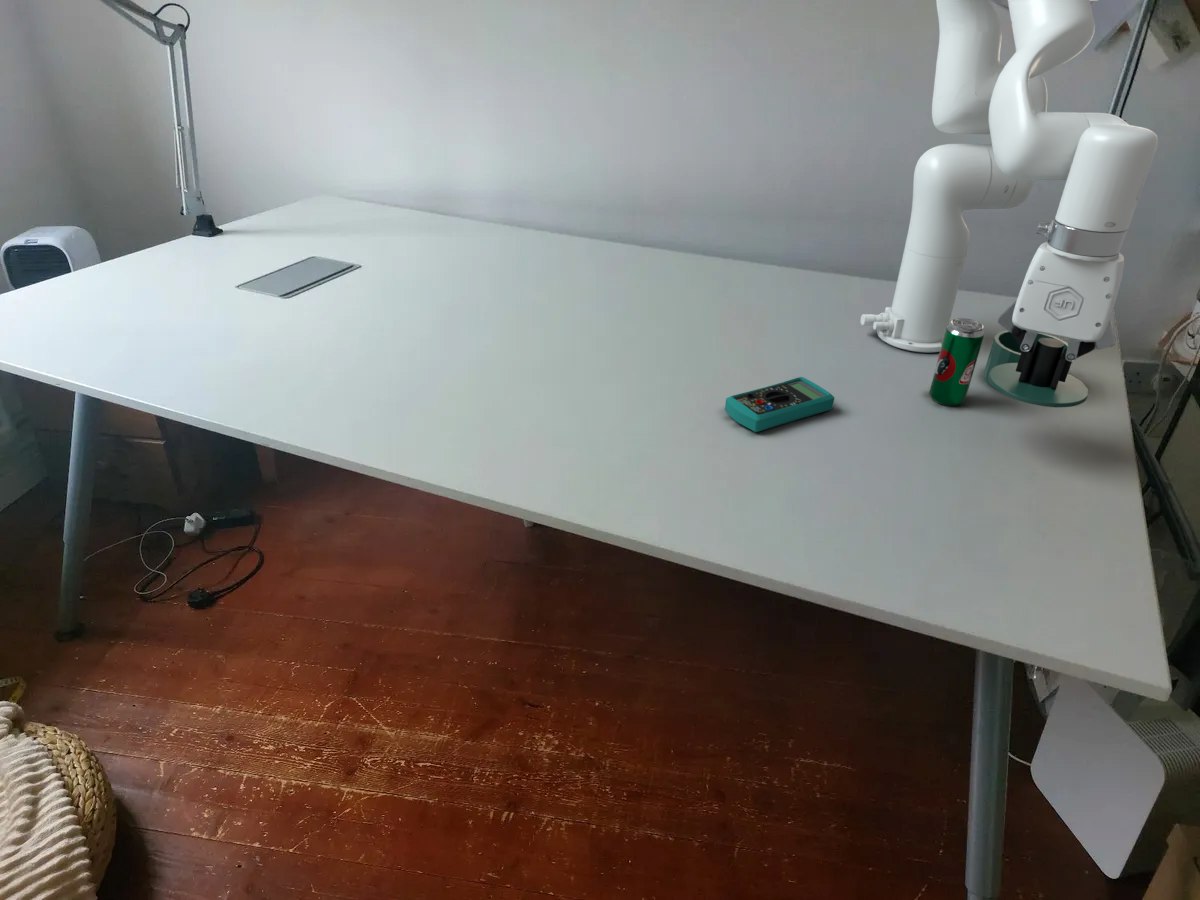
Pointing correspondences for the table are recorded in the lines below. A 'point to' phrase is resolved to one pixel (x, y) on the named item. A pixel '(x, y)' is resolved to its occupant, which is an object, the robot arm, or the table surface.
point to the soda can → (956, 361)
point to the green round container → (1008, 350)
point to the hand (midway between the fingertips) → (1038, 380)
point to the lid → (1039, 379)
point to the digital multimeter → (778, 404)
